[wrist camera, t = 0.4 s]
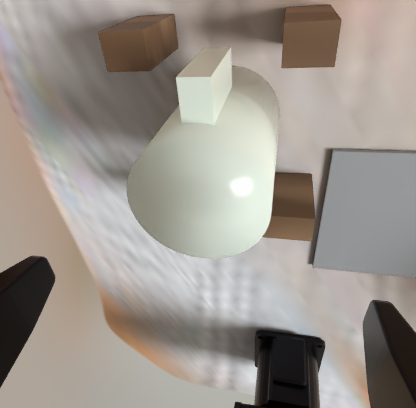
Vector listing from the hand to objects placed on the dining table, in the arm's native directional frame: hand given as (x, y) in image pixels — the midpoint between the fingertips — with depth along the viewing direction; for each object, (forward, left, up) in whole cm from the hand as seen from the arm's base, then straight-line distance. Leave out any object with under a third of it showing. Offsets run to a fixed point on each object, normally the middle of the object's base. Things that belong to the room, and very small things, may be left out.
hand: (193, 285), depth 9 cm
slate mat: (-7, -10, -13) cm, 18 cm away
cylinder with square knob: (0, +1, -13) cm, 13 cm away
